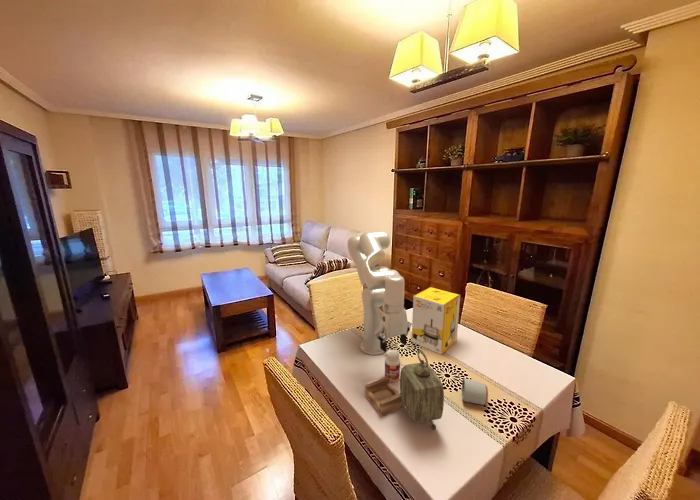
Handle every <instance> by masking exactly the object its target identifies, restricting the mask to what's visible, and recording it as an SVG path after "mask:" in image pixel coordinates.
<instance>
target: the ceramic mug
mask: <svg viewBox="0 0 700 500" xmlns="http://www.w3.org/2000/svg"><path fill="white" fill-rule="evenodd" d="M488 398H489V389H488V386H487V384H485V383H484V382H481V381H477V380H473V379H469V378H463V379H462V384H461V400H462V401H463V402H467V403H473V404H475V405H476V404H477V405H481V406H482V405H486V404H487V403H488Z"/></svg>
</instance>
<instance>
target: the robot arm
mask: <svg viewBox="0 0 700 500" xmlns="http://www.w3.org/2000/svg"><path fill="white" fill-rule="evenodd" d="M390 245H391V238H390V236H389V234H388V233H387V232H386V231H382V230H381V231H380V230H379V231H377V230H376V231H365V232H364V233H362V234H357V235H352V236H350V237H349V238H348V240H347V250H348V253H349V256H350V257H351V260H352V262H353V263H354V264H355V268H356V273H357V275H358V278H359V281H360V283H361V285H362V286H363V287H365V288H364V289H363V290H362V291H361V300H362V301H361V302H362V308H363V334H361V338H363V340H362V342H361V344H360V350H361V351H362V352H363V353H365V354H367V355H370V356H371V355H372V356H378V355H383V354H384V353H386V352H387V340H388V339H393V338H395V337H399V342H400V344H401V345H403V346H407V336H408V335H409V332H410V331H411V328H412V322H411V321H408V315H407V311H406V308H405V278H404V277H403V276H402V275H401V274H400V272H398V271H397V270H396V269H390V268H389V267H388V266H386V265H385V266H383V265H381V266H377V265H378V264H380V263H382V262H383V261H384V259H385V257H386V253H385V251H384V250H386V249H388V248H389V247H390ZM380 307H381V308H380Z"/></svg>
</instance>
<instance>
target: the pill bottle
mask: <svg viewBox="0 0 700 500" xmlns="http://www.w3.org/2000/svg"><path fill="white" fill-rule="evenodd" d="M385 353H386V356H385V359H384V378H385V377H388V378H389V379H390V381H389V383H395V382H398V381H400V374H401V360H400V359H401V358H400V352H399V351H398V350H396V349H389V350H386V352H385Z"/></svg>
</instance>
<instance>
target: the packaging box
mask: <svg viewBox="0 0 700 500" xmlns="http://www.w3.org/2000/svg"><path fill="white" fill-rule="evenodd" d="M412 297H413V298H412V322H411V323H412V325H411V343H413V344H415V345H416V344H417V345H418V346H421V347H422V348H426V349H427V350H430V351H432V352H434V353H437V354H439V355H443V354H444V353H445V352H446V351H447V350H448V349H450V348H451V347H452V346H453V345H454V344H455V343H456V342H457V340H458V339H457V338H458V327H459V318H460V317H459V316H460V315H459V314H460V302H461V294H458V293H453V292H450V291H446V290H442V289H438V288H435V287H433V286H432V287H431V286H430V287H428V288H426V289H424V290H422V291H420V292H418V293H416V294H414V295H413V296H412Z"/></svg>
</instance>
